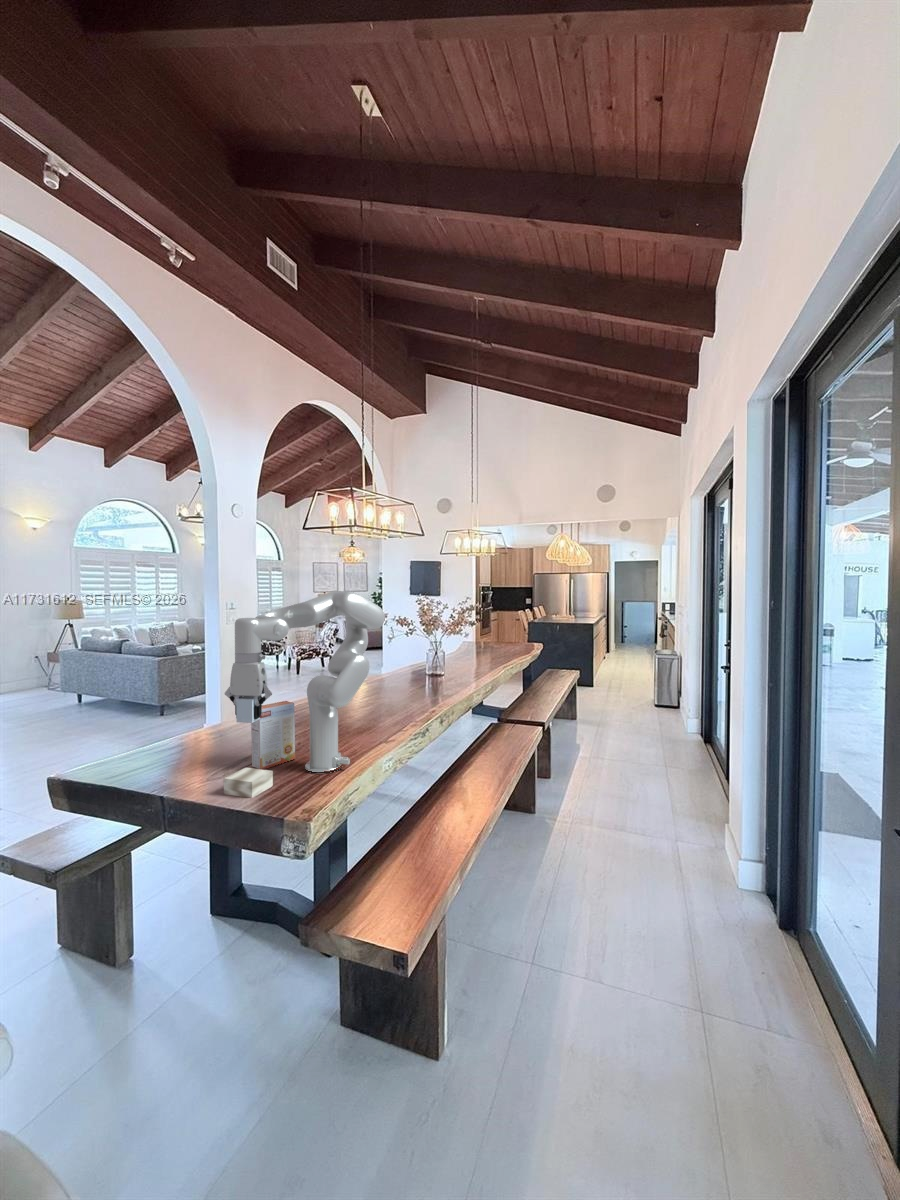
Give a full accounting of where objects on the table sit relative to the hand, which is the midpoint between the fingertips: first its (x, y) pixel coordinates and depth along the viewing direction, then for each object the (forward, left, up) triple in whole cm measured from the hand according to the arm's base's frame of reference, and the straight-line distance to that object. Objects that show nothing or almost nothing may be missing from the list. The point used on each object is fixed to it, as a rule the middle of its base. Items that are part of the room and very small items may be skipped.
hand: (248, 717), depth 163 cm
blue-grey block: (0, 0, -1) cm, 1 cm away
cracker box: (+3, -24, -23) cm, 33 cm away
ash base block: (0, 0, -23) cm, 23 cm away
